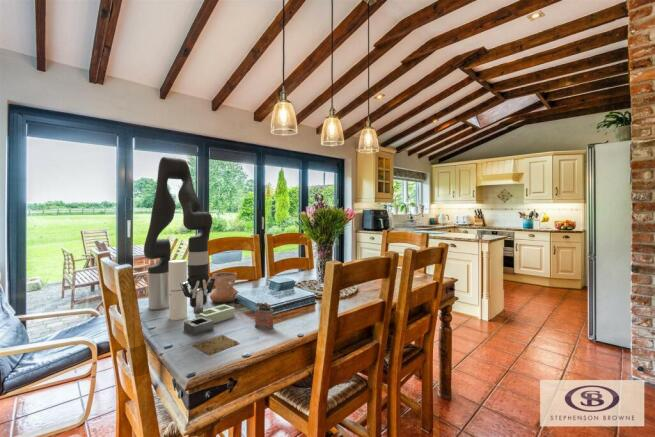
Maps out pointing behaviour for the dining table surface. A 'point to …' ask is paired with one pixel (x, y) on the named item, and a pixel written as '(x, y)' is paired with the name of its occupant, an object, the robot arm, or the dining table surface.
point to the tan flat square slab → (215, 344)
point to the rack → (218, 313)
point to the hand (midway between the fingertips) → (198, 305)
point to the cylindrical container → (177, 289)
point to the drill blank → (199, 302)
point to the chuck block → (198, 325)
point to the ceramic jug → (224, 287)
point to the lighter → (264, 316)
